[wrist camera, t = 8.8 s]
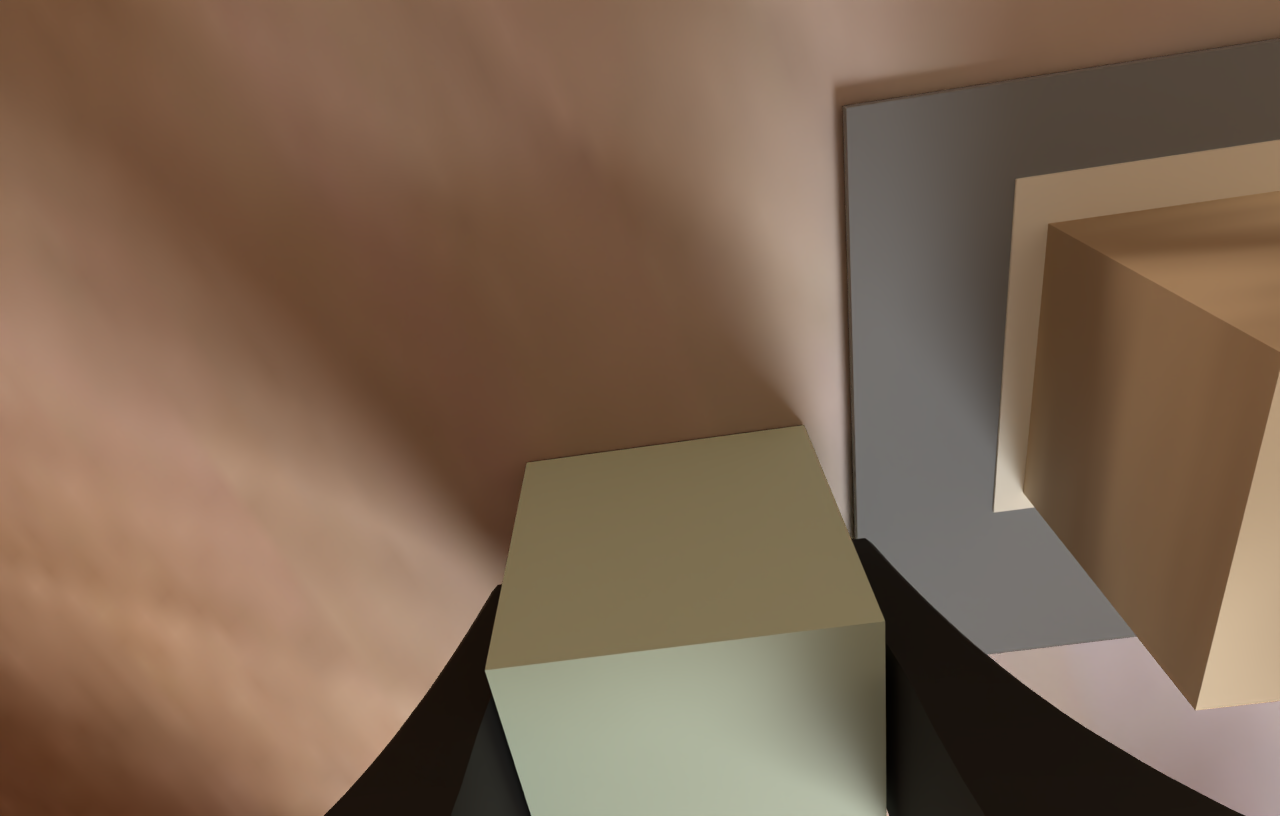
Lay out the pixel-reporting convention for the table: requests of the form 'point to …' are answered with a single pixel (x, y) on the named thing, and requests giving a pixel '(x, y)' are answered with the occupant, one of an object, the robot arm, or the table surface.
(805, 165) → the table surface
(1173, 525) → the beech block
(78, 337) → the table surface
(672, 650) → the sage block
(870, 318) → the slate mat
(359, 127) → the table surface
